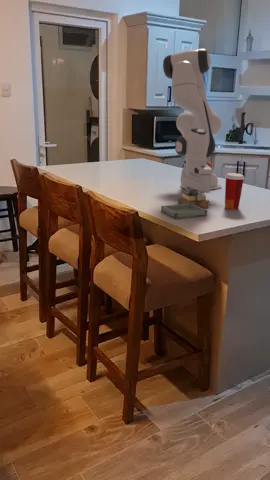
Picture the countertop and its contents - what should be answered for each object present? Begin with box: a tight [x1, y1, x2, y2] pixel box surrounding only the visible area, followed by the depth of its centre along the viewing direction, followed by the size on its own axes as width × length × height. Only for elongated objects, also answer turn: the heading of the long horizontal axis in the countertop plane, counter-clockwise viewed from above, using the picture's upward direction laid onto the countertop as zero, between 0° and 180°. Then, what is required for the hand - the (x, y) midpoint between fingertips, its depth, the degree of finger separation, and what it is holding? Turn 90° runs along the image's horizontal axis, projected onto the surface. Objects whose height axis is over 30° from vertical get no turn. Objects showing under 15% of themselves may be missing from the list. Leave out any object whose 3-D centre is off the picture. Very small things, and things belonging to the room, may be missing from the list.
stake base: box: [177, 196, 210, 209], centre depth 195 cm, size 10×10×3 cm
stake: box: [188, 190, 198, 195], centre depth 194 cm, size 5×1×4 cm, turn 114°
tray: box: [160, 204, 208, 220], centre depth 181 cm, size 15×12×2 cm
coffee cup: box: [224, 172, 245, 211], centre depth 191 cm, size 8×8×15 cm
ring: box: [181, 192, 207, 201], centre depth 194 cm, size 10×6×2 cm, turn 113°
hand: (193, 198), depth 194 cm, fingers closed on ring, 6 cm apart
